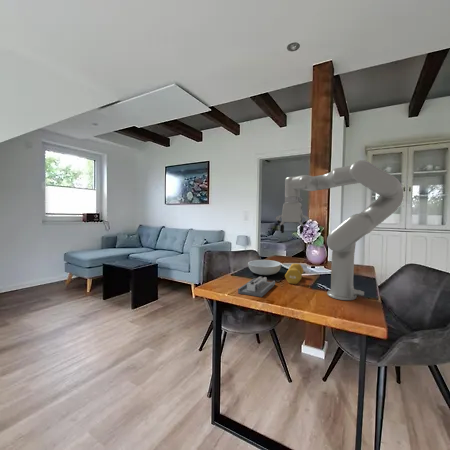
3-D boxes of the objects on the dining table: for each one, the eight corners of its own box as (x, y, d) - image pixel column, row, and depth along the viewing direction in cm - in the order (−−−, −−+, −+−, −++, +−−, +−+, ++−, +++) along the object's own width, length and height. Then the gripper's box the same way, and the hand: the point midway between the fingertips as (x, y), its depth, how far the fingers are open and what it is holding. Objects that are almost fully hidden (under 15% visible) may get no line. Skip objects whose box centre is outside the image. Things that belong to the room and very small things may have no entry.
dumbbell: (288, 275, 159) (289, 262, 158) (304, 276, 155) (304, 263, 155) (284, 283, 141) (284, 269, 141) (301, 285, 138) (301, 270, 137)
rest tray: (274, 284, 138) (275, 280, 138) (261, 297, 119) (261, 292, 119) (254, 281, 144) (254, 278, 144) (238, 293, 124) (238, 288, 124)
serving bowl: (241, 271, 167) (241, 261, 167) (267, 268, 177) (267, 258, 177) (260, 279, 149) (260, 268, 148) (288, 275, 159) (288, 264, 158)
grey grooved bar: (254, 292, 122) (254, 283, 122) (247, 291, 124) (247, 282, 124) (266, 282, 138) (266, 274, 138) (259, 281, 140) (259, 273, 140)
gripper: (310, 200, 133) (309, 233, 134) (277, 201, 141) (277, 232, 142) (308, 200, 126) (307, 234, 128) (274, 200, 134) (273, 233, 135)
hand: (291, 233), depth 135 cm, fingers open, 9 cm apart
